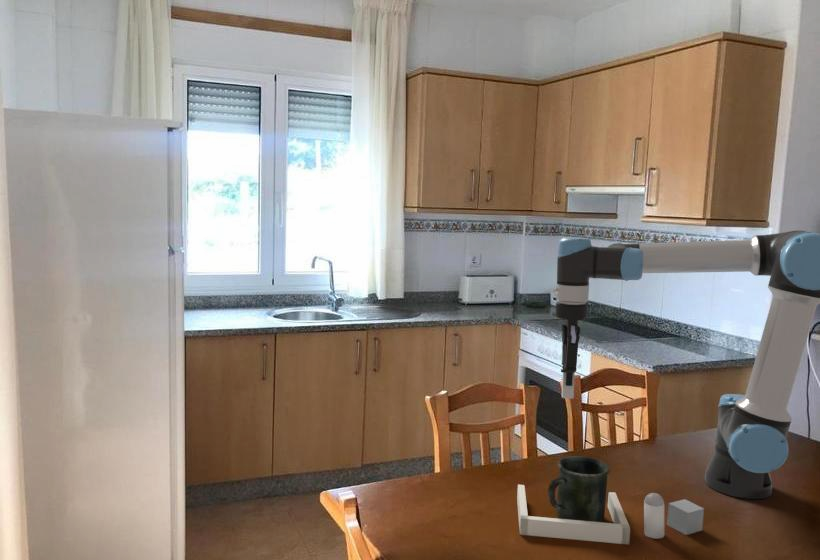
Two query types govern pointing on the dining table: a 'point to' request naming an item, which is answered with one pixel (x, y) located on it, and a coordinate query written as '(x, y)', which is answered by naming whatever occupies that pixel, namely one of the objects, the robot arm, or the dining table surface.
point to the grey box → (685, 516)
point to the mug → (580, 489)
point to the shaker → (654, 516)
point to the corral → (575, 524)
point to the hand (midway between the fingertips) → (567, 397)
